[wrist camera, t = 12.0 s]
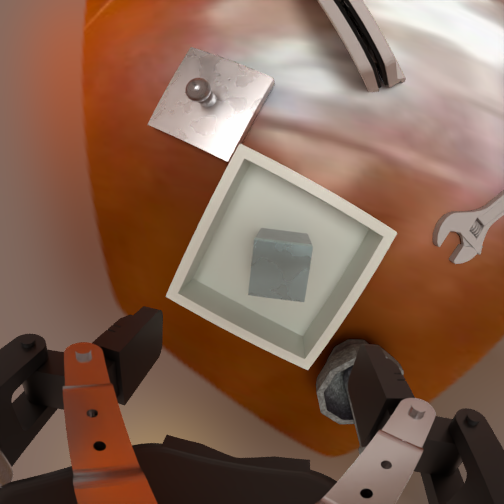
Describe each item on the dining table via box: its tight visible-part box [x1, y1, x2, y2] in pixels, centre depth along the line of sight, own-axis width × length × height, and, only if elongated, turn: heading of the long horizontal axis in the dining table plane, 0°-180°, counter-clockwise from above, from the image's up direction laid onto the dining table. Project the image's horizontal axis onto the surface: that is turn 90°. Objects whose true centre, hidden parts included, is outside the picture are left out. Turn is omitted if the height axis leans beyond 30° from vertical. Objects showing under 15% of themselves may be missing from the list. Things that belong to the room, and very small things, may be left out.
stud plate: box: [148, 47, 275, 162], centre depth 27 cm, size 10×10×7 cm
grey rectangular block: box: [248, 228, 313, 302], centre depth 29 cm, size 5×5×7 cm
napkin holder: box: [317, 0, 406, 92], centre depth 23 cm, size 17×5×10 cm, turn 22°
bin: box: [166, 144, 397, 370], centre depth 30 cm, size 16×16×6 cm
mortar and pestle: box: [316, 339, 403, 454], centre depth 29 cm, size 11×9×12 cm
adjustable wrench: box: [433, 190, 504, 264], centre depth 28 cm, size 25×6×2 cm, turn 118°
